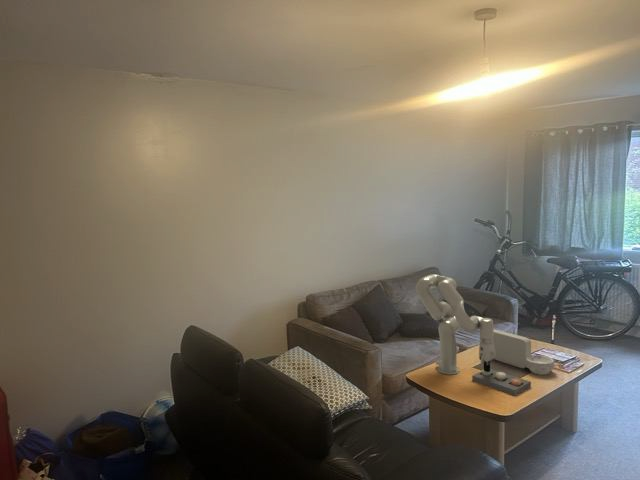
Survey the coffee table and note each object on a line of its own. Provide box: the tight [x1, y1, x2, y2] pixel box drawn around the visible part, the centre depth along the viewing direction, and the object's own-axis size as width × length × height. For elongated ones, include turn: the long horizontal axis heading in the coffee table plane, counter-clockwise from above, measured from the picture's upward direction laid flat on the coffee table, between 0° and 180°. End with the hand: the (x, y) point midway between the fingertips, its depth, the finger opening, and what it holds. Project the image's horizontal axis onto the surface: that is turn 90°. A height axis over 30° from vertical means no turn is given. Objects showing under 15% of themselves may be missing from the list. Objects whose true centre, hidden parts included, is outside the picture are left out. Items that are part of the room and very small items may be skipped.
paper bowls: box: [526, 354, 555, 376], centre depth 270 cm, size 15×15×8 cm
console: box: [471, 368, 532, 396], centre depth 256 cm, size 26×16×3 cm, turn 37°
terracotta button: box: [511, 379, 521, 387], centre depth 249 cm, size 5×5×2 cm
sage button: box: [481, 368, 491, 377], centre depth 263 cm, size 5×5×2 cm
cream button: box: [496, 371, 507, 380], centre depth 256 cm, size 5×5×2 cm
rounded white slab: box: [493, 328, 532, 369], centre depth 287 cm, size 29×8×18 cm, turn 33°
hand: (486, 370), depth 263 cm, fingers closed
